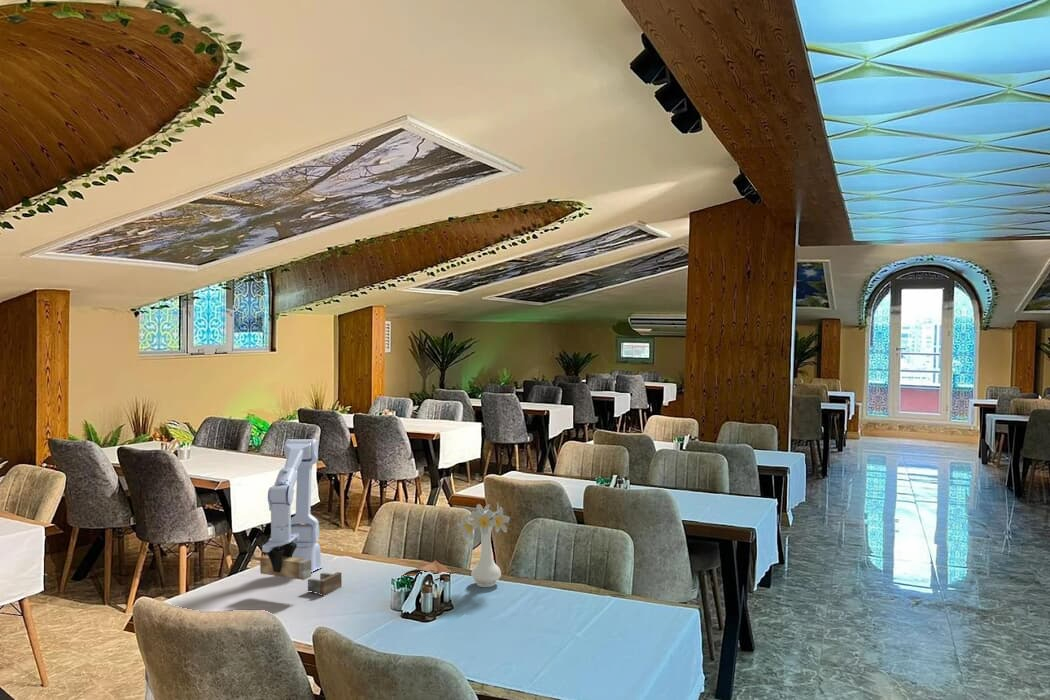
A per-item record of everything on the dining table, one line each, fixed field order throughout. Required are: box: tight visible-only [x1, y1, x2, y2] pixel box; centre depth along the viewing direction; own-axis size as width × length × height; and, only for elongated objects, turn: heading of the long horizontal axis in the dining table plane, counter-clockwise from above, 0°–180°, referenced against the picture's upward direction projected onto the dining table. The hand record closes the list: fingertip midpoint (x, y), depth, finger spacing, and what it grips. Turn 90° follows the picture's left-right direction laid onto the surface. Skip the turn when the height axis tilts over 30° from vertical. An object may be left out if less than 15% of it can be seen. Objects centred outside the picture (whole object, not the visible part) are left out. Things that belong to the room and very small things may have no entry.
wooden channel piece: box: [307, 571, 343, 596], centre depth 250 cm, size 6×9×4 cm
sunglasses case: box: [402, 559, 454, 576], centre depth 262 cm, size 18×7×7 cm
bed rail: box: [259, 554, 312, 581], centre depth 244 cm, size 16×4×5 cm, turn 68°
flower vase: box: [456, 502, 511, 588], centre depth 254 cm, size 13×18×25 cm
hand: (281, 569), depth 245 cm, fingers closed on bed rail, 3 cm apart
